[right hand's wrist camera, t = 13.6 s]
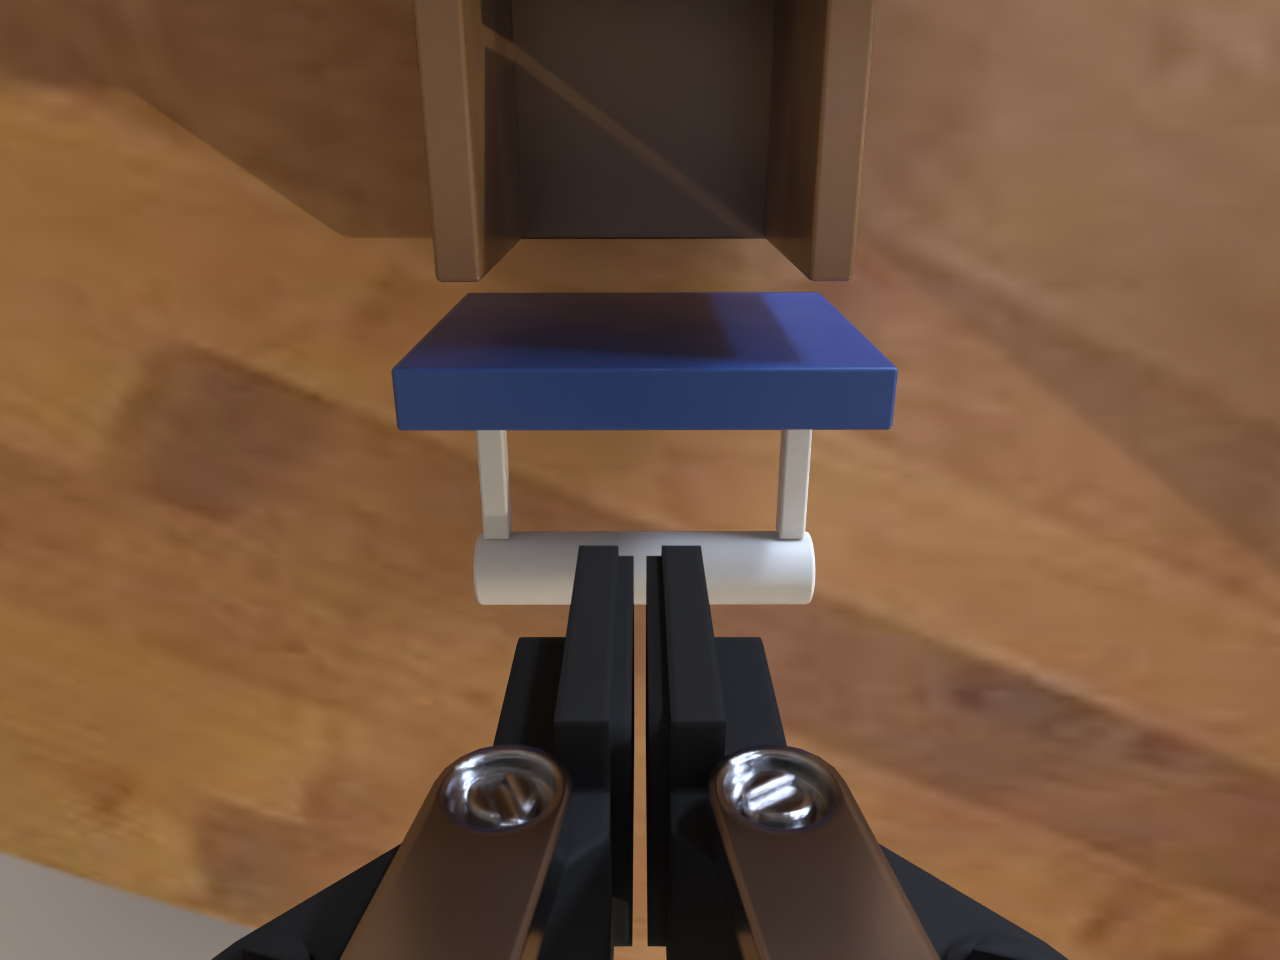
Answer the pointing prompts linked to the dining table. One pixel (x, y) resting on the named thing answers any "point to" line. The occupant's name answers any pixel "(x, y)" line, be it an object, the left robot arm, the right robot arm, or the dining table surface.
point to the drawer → (644, 209)
